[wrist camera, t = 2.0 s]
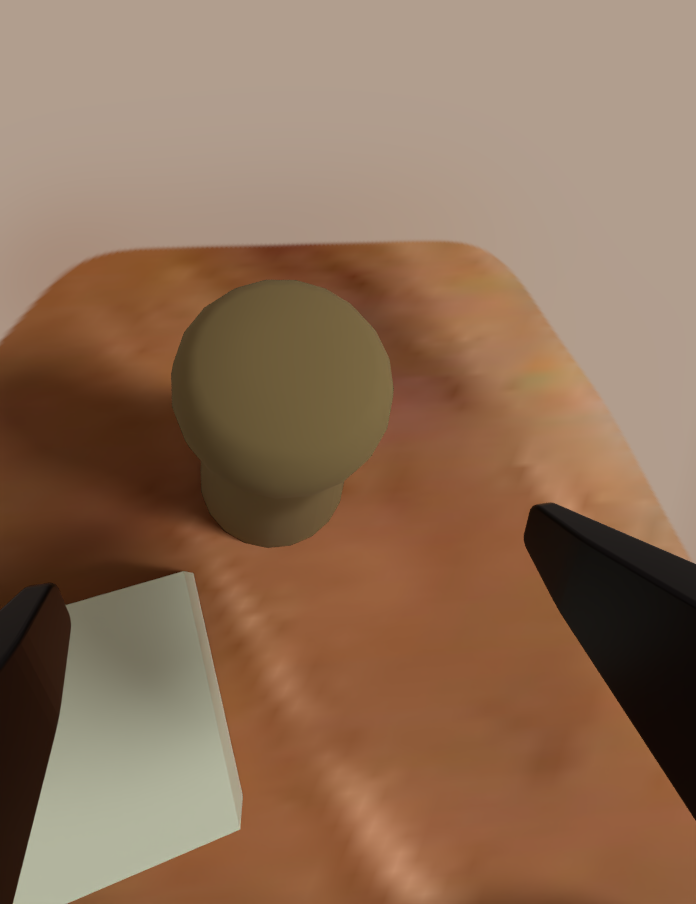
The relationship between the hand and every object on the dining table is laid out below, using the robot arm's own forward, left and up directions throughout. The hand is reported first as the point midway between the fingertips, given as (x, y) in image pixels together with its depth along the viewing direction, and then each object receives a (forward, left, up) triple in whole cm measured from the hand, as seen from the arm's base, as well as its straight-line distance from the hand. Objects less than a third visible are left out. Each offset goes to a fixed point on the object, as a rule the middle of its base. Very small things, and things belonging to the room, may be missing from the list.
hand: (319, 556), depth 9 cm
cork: (+4, -1, -11) cm, 12 cm away
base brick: (-3, +7, -11) cm, 13 cm away
